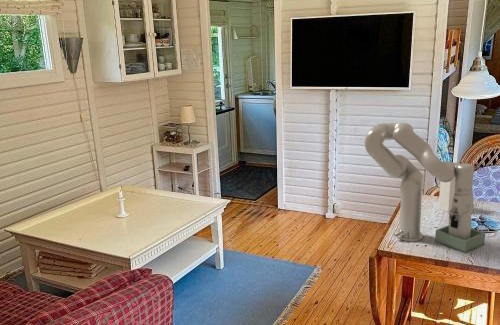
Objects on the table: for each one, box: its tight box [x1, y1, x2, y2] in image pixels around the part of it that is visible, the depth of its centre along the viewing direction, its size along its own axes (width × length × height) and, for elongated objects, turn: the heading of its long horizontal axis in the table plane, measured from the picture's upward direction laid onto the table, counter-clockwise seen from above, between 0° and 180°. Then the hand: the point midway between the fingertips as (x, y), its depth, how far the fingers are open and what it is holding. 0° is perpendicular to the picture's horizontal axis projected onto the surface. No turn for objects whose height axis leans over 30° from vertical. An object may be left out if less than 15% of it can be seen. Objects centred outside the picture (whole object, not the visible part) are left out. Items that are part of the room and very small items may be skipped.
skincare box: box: [448, 211, 472, 240], centre depth 209 cm, size 8×7×16 cm
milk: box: [438, 177, 455, 213], centre depth 250 cm, size 6×6×22 cm
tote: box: [434, 224, 486, 254], centre depth 211 cm, size 15×16×6 cm
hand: (460, 225), depth 209 cm, fingers open, 9 cm apart
